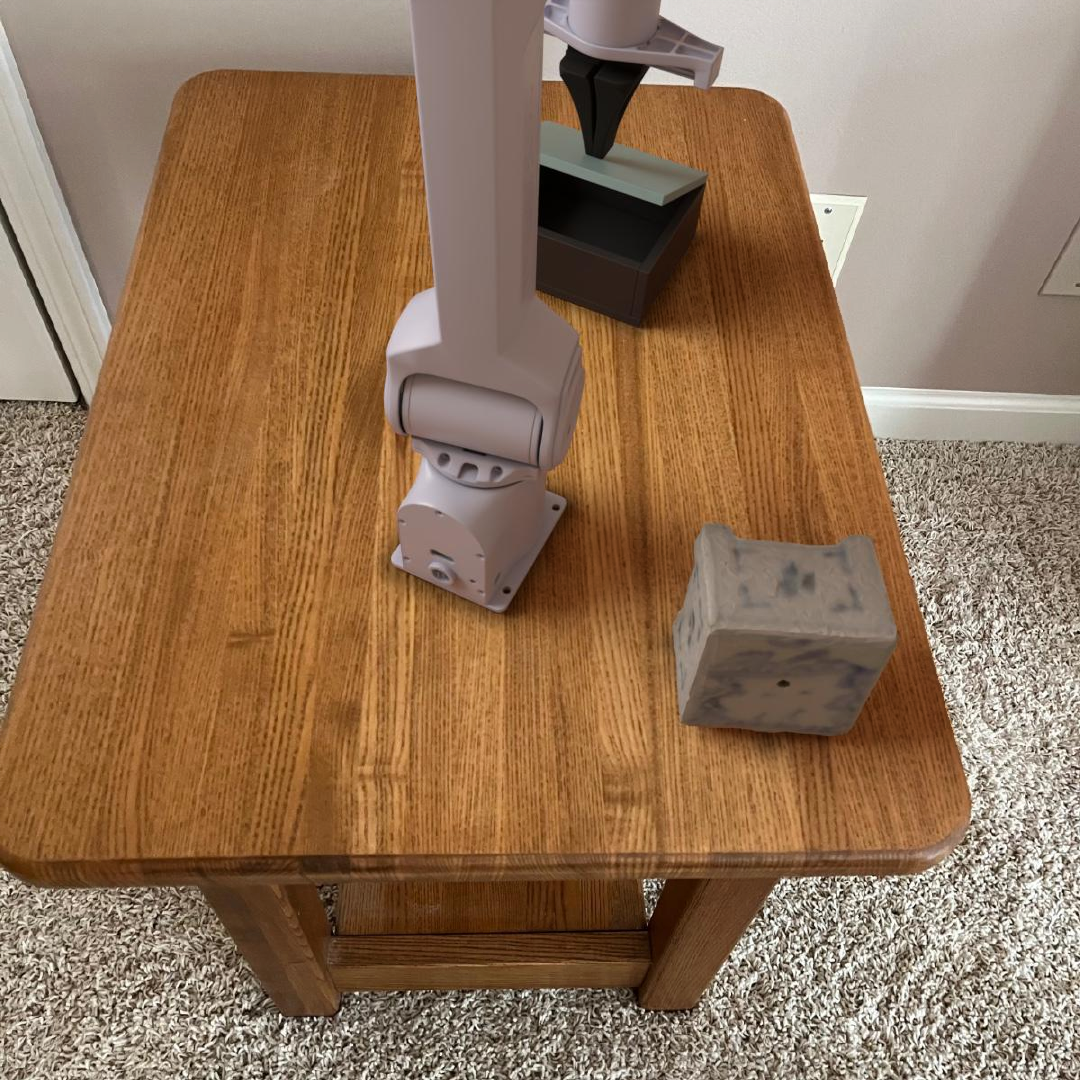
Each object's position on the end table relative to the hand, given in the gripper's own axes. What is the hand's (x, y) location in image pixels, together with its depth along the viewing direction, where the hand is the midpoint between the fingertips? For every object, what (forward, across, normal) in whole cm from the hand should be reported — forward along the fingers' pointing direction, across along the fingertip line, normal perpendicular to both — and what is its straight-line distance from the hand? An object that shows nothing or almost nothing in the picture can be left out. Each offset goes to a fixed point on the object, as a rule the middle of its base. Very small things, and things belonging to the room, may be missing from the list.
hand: (599, 149), depth 70 cm
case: (+10, 0, 0) cm, 10 cm away
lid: (+1, 0, 0) cm, 1 cm away
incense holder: (+10, -24, +29) cm, 39 cm away
